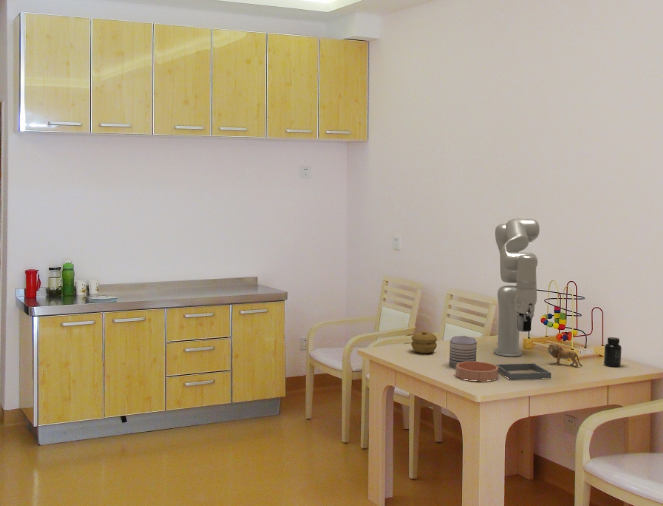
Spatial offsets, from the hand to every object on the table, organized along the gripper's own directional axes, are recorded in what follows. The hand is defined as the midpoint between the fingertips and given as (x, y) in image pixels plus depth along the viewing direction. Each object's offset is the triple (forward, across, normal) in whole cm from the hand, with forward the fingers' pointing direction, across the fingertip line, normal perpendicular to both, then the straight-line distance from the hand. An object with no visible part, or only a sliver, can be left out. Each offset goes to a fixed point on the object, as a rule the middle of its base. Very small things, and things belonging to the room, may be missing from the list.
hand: (524, 328), depth 306 cm
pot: (+20, -43, -29) cm, 55 cm away
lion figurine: (+19, -12, +25) cm, 34 cm away
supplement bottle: (+19, -10, +46) cm, 51 cm away
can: (+19, -16, -20) cm, 32 cm away
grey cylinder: (+1, 0, 0) cm, 1 cm away
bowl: (+19, +1, -20) cm, 28 cm away
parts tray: (+19, 0, 0) cm, 19 cm away
